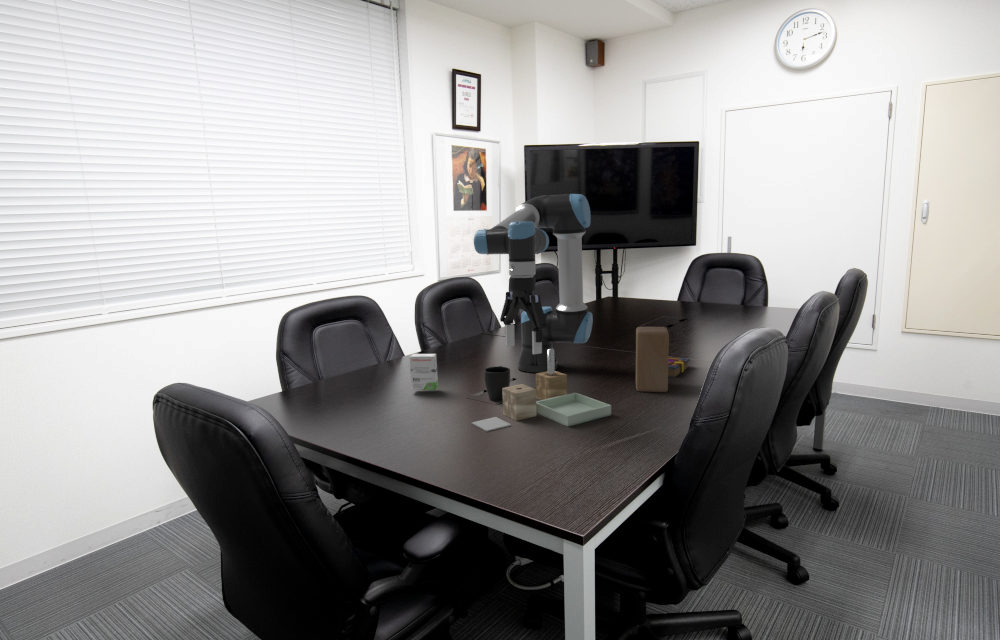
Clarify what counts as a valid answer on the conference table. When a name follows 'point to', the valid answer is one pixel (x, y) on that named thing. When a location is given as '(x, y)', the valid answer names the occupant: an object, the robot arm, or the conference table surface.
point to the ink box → (423, 372)
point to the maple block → (519, 402)
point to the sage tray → (572, 409)
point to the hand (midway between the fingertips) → (523, 349)
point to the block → (652, 359)
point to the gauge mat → (491, 424)
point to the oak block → (550, 385)
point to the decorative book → (677, 366)
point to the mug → (496, 381)
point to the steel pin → (550, 362)
